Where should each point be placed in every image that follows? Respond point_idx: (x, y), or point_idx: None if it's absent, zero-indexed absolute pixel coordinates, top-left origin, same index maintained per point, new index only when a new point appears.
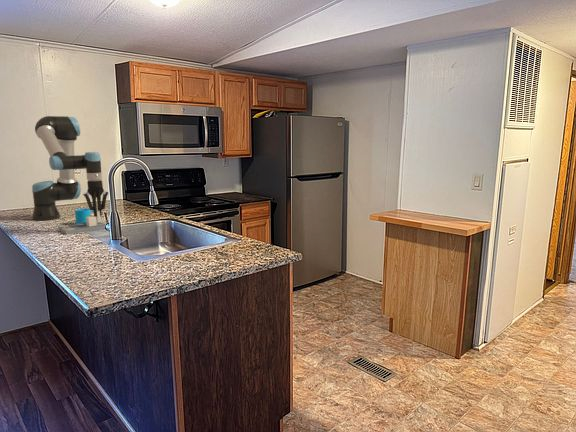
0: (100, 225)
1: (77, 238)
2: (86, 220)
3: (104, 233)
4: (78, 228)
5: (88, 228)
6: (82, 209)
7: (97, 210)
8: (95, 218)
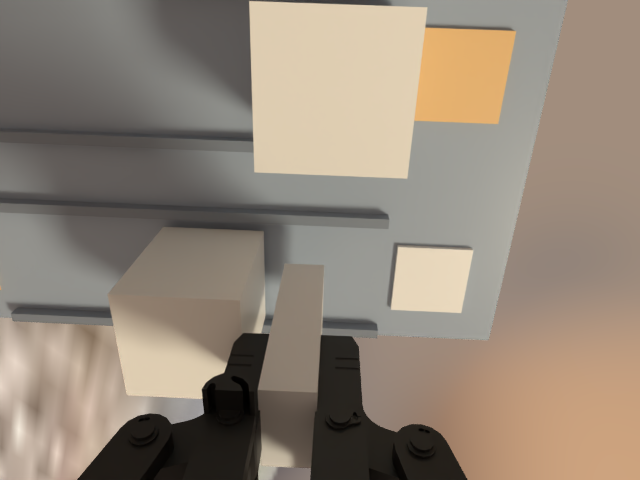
0: None
1: (35, 469)
2: (135, 268)
3: None
4: (43, 321)
5: None
6: None
7: (299, 410)
8: None
